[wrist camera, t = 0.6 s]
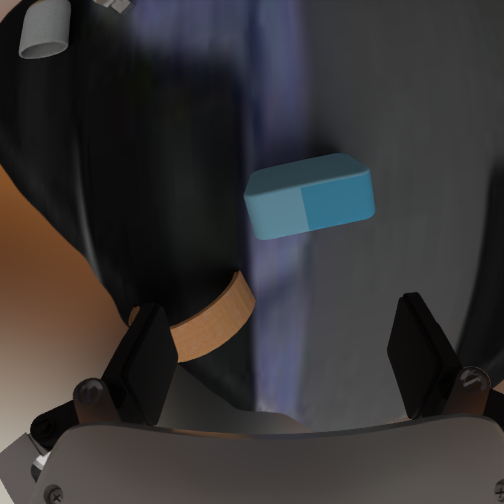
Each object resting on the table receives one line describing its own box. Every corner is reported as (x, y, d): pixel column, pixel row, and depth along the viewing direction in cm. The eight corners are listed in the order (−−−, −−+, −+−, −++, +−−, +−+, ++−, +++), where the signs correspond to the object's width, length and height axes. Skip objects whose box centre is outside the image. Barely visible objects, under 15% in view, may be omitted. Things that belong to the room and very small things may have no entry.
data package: (260, 204, 39) (254, 243, 28) (250, 171, 37) (241, 197, 26) (350, 185, 37) (380, 217, 26) (344, 151, 35) (373, 169, 24)
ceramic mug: (81, 0, 26) (50, -11, 19) (78, 46, 30) (44, 40, 23) (32, 24, 27) (0, 19, 20) (29, 66, 30) (-4, 67, 24)
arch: (133, 305, 48) (109, 344, 39) (240, 269, 44) (231, 312, 35) (151, 330, 50) (132, 371, 42) (256, 300, 46) (251, 346, 37)
